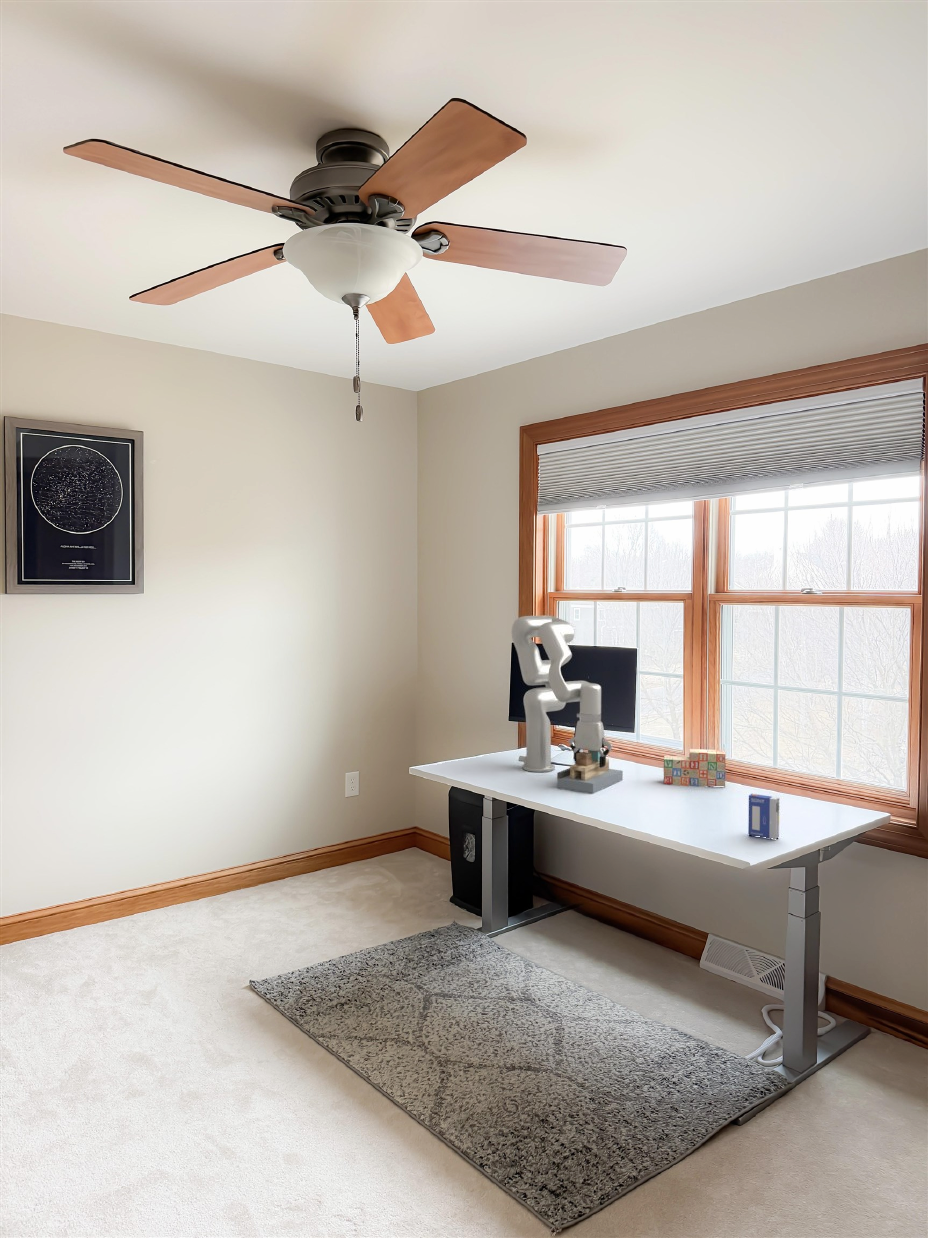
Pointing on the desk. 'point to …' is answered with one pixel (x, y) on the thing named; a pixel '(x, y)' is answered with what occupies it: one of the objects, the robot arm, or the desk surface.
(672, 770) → the stack of blocks
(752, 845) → the desk surface
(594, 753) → the teal cube
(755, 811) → the walkman
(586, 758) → the brown wooden cube
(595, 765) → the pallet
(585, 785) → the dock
